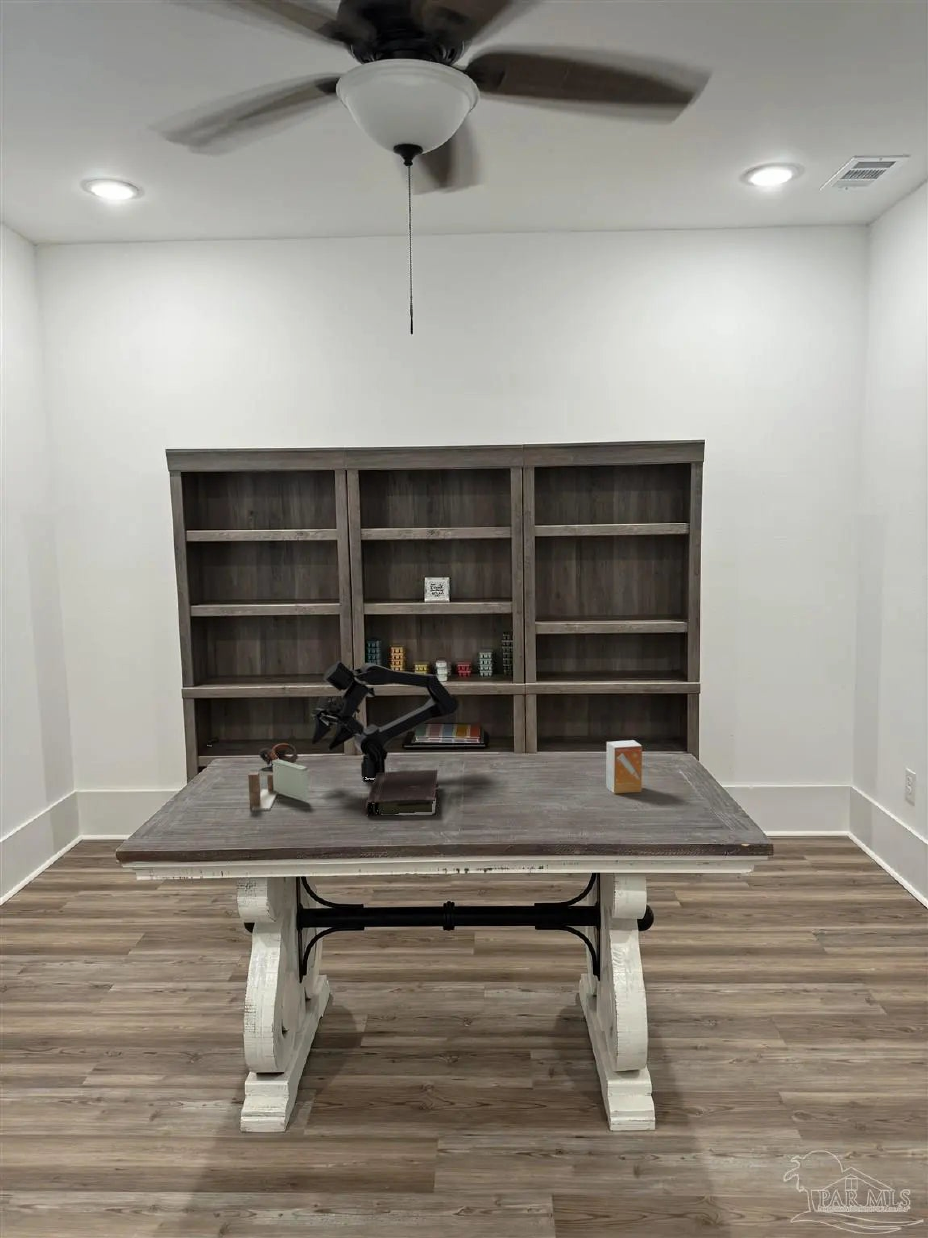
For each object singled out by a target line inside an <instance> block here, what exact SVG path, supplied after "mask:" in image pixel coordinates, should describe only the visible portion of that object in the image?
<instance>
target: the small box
mask: <svg viewBox="0 0 928 1238" xmlns="http://www.w3.org/2000/svg"><path fill="white" fill-rule="evenodd" d="M605 763H606V764H605V765H606V768H605V769H606V773H605V774H606V775H605V777H606V781H605V784H606V786H605V787H606V788H607V789H608V790H609V791H610V792H611V793H612V794H614V795H615V794H627V793H641V792H642V776H643V774H642V772H643V767H642V765H643V746H642V745H641V744H640V743H639V742H637V741H636V740H634V739H631V740H618V741H617V740H616V741H606V762H605Z"/></svg>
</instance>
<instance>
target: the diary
mask: <svg viewBox="0 0 928 1238" xmlns="http://www.w3.org/2000/svg"><path fill="white" fill-rule="evenodd" d="M437 780H438V769H423V770H422V769H421V770H420V769H419V770H418V769H417V770H412V769H411V770H398V771H388V772H387V771H385V773H377V774H376V777H375V779H374V780H373V783H372V786H371V788H370V791H369V794H368V798H367V799H366V802H365V805H364V811H365V814H366V816H367V815H369V813H370V814H371V812H370V810H371V811H373V814H374V815H375V814H376V813H377V810H378V813H379V814H378V813H377V814H378V815H380V814H399V813H415V812H432V804H433V801H435V798H436V799H437V800H440V797H439V792H438V789H436V788H437V787H438V788H439V783H437ZM372 803H374V804H373V805H372ZM371 806H372V809H371ZM369 816H370V815H369Z"/></svg>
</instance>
